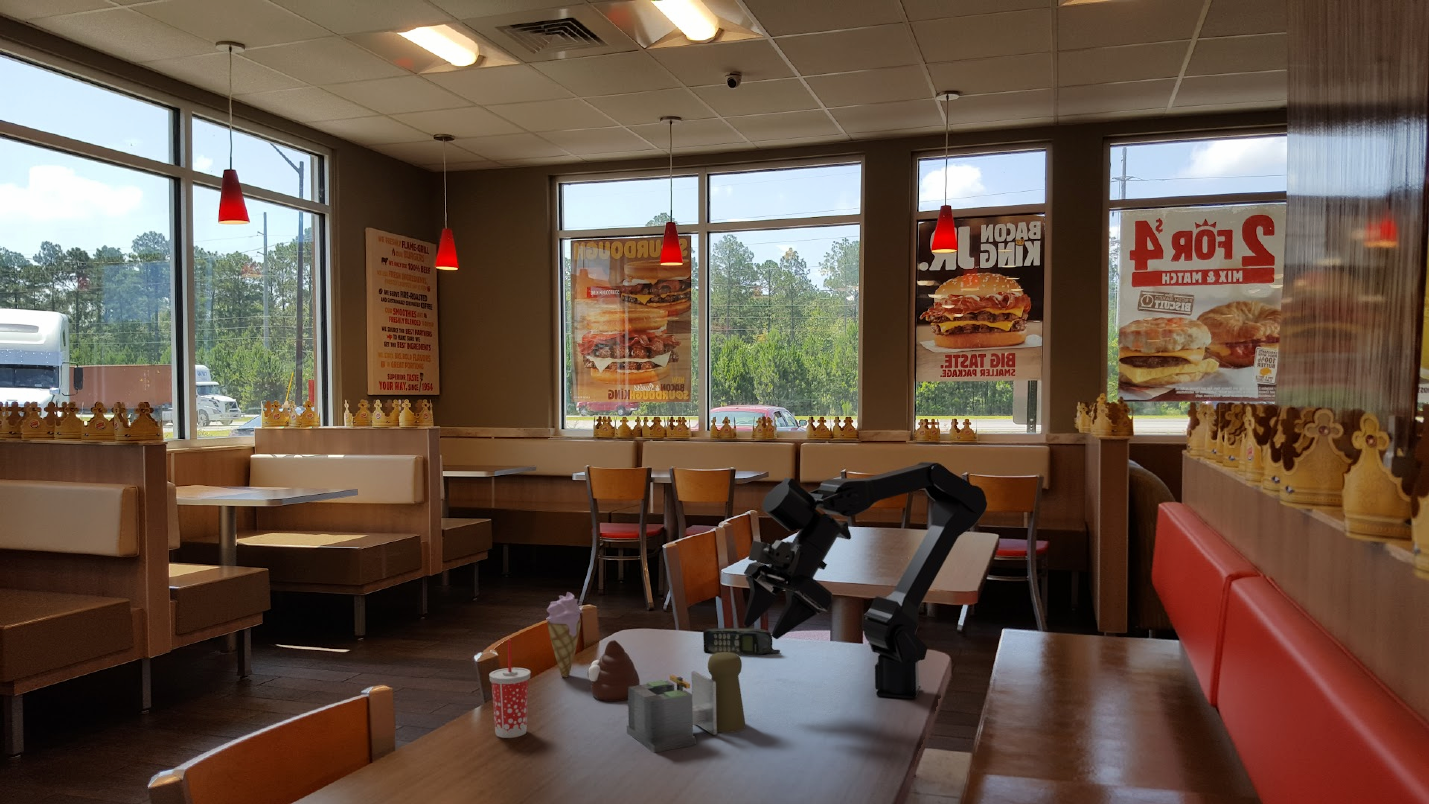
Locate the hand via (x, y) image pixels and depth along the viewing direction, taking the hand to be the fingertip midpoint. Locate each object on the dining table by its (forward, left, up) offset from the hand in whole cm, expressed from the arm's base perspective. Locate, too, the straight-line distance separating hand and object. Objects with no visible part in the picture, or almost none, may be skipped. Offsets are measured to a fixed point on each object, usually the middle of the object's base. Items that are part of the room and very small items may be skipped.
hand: (759, 631), depth 154 cm
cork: (+4, +5, -14) cm, 15 cm away
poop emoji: (+28, -5, -14) cm, 31 cm away
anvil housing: (+11, +13, -13) cm, 21 cm away
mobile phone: (+16, -37, -14) cm, 43 cm away
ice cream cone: (+41, -12, -14) cm, 45 cm away
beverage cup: (+34, +18, -14) cm, 41 cm away
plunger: (+8, +10, -13) cm, 18 cm away
